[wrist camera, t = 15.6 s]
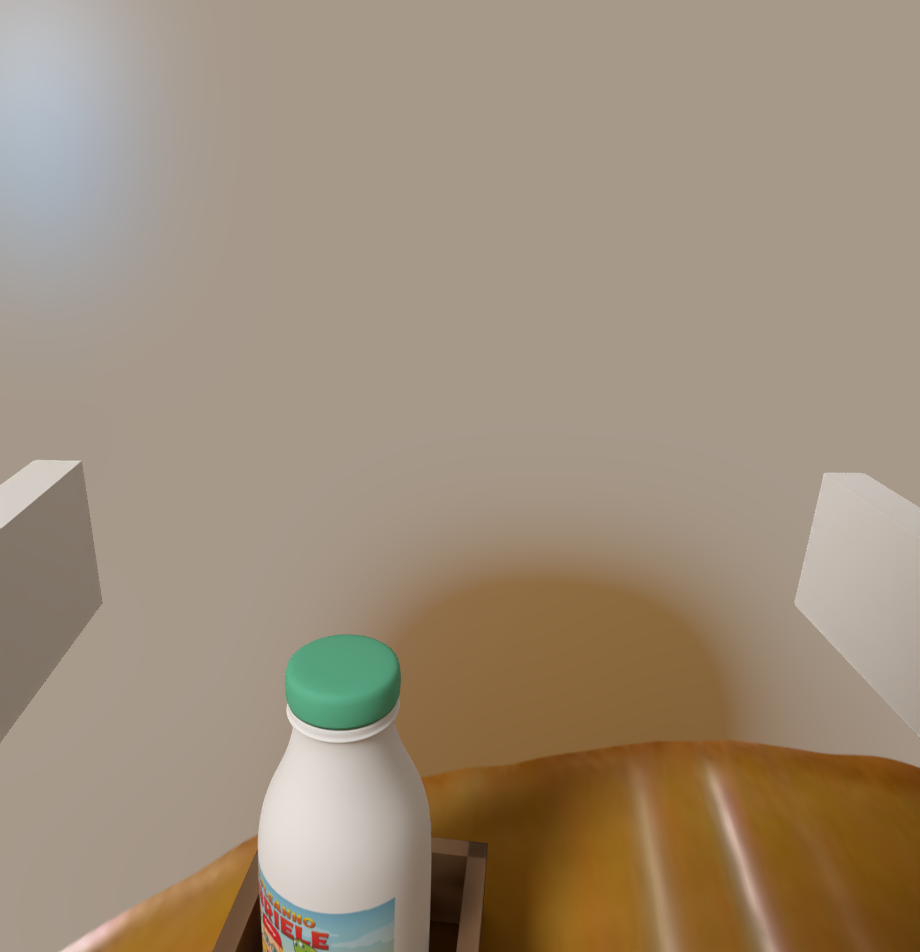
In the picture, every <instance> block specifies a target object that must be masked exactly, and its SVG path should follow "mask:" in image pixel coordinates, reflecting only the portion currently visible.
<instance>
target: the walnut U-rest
mask: <svg viewBox="0 0 920 952" xmlns="http://www.w3.org/2000/svg"><path fill="white" fill-rule="evenodd" d="M487 847H488V844H487V843H479V842H470V841H462V840H454V839H445V838H437V837H431V897H430V921H436V922H444V923H452V924H459V933H458V941H457V950H456V952H479V950H480V938H481V927H482V915H483V902H484V889H485V875H486V861H487ZM213 952H263V944H262V930H261V913H260V896H259V878H258V849H257V852H256V854H255V856H254V858H253V861H252V863H251V865H250V868H249V870H248V872H247V874H246V877H245V879H244V881H243V883H242V886H241V888H240V890H239V893H238V895H237V897H236V899H235V902H234V904H233V906H232V908H231V911H230V913H229V915H228V917H227V920H226V922H225V924H224V927H223V929H222V931H221V933H220V936H219V938H218V940H217V942H216V945H215V947H214V949H213Z"/></svg>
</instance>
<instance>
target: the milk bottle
mask: <svg viewBox="0 0 920 952" xmlns="http://www.w3.org/2000/svg"><path fill="white" fill-rule="evenodd" d="M400 684H401V674H400V665H399V662H398V658H397V656H396V654H395V653H394V651H393V650H392V649H391V648H390V647H388V646H387V645H385V644H384V643H382V642H380V641H378V640H375V639H373V638H370V637H366V636H360V635H334V636H329V637H324V638H321V639H318V640H315V641H313V642H311V643H309V644H307V645H305V646H303V647H302V648H300V649H299V650H298V651H297V652H296V653H295V654H294V655H293V656H292V657H291V659H290V660H289V662H288V665H287V669H286V674H285V690H286V699H287V703H288V704H287V716H288V719H289V721H290V723H291V724H292V726H293V731H292V735H291V738H290V741H289V744H288V747H287V750H286V752H285V755H284V756H283V759H282V760H281V762H280V764H279V766H278V768H277V770H276V772H275V774H274V776H273V778H272V780H271V782H270V785H269V788H268V790H267V793H266V796H265V799H264V802H263V807H262V811H261V816H260V823H259V833H258V878H259V896H260V913H261V930H262V944H263V952H429V928H430V897H431V821H430V813H429V806H428V801H427V797H426V793H425V789H424V786H423V783H422V781H421V778H420V775H419V773H418V771H417V769H416V767H415V765H414V764H413V762H412V760H411V758H410V756H409V755H408V753H407V751H406V750H405V748H404V746H403V744H402V742H401V740H400V737H399V734H398V731H397V728H396V725H395V721H394V720H395V718H396V716H397V714H398V712H399V709H400V698H399V694H400Z"/></svg>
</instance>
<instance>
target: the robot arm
mask: <svg viewBox="0 0 920 952" xmlns="http://www.w3.org/2000/svg"><path fill="white" fill-rule="evenodd" d="M101 604H102V597H101V590H100V583H99V576H98V569H97V563H96V555H95V548H94V542H93V535H92V528H91V522H90V514H89V508H88V500H87V494H86V486H85V480H84V473H83V466H82V461H64V460H34V461H33V462H31V463H30V464H29V465H27V466H26V467H25V468H23V469H22V470H21V471H19V472H18V473H16V474H15V475H14V476H12V477H11V478H10V479H8V480H7V481H5V482H4V483H3V484H1V485H0V742H1V741H2V739H3V738H4V737H5V735H6V734H7V733H8V731H9V730H10V729H11V727H12V726H13V724H14V723H15V722H16V720H17V719H18V718H19V716H20V715H21V714H22V712H23V711H24V710H25V708H26V707H27V705H28V704H29V703H30V701H31V700H32V699H33V697H34V696H35V694H36V693H37V692H38V690H39V689H40V688H41V686H42V685H43V684H44V682H45V681H46V679H47V678H48V677H49V675H50V674H51V673H52V671H53V670H54V668H55V667H56V666H57V664H58V663H59V662H60V660H61V659H62V657H63V656H64V655H65V653H66V652H67V651H68V649H69V648H70V646H71V645H72V644H73V643H74V641H75V640H76V638H77V637H78V636H79V634H80V633H81V632H82V630H83V629H84V627H85V626H86V625H87V623H88V622H89V621H90V619H91V618H92V616H93V615H94V613H95V612H96V611H97V610H98V608H99V607H100V606H101ZM794 604H795V606H796V607H797V608H798V609H799V610H800V611H801V612H802V613H803V614H804V615H805V616H806V617H807V618H808V619H809V620H810V622H811V623H812V624H813V625H814V626H815V627H816V628H817V629H818V630H819V631H820V632H821V633H822V634H823V635H824V636H825V638H826V639H827V640H828V641H829V642H830V643H831V644H832V645H833V646H834V647H835V648H836V649H837V650H838V651H839V652H840V654H841V655H842V656H843V657H844V658H845V659H846V660H847V661H848V662H849V663H850V664H851V665H852V666H853V667H854V668H855V669H856V671H857V672H858V673H859V674H860V675H861V676H862V677H863V678H864V679H865V680H866V681H867V682H868V683H869V684H870V685H871V687H872V688H873V689H874V690H875V691H876V692H877V693H878V694H879V695H880V696H881V697H882V698H883V699H884V700H885V702H886V703H887V704H888V705H889V706H890V707H891V708H892V709H893V710H894V711H895V712H896V713H897V714H898V715H899V716H900V718H901V719H902V720H903V721H904V722H905V723H906V724H907V725H908V726H909V727H910V728H911V729H912V730H913V731H914V732H915V734H916V735H918V737H919V738H920V508H919V507H918V506H916V505H915V504H913V503H911V502H910V501H908V500H906V499H905V498H903V497H902V496H900V495H898V494H897V493H895V492H894V491H892V490H890V489H889V488H887V487H885V486H884V485H882V484H881V483H879V482H877V481H876V480H874V479H872V478H871V477H869V476H868V475H866V474H864V473H824V476H823V480H822V484H821V489H820V493H819V498H818V502H817V507H816V511H815V515H814V519H813V524H812V528H811V532H810V537H809V542H808V546H807V550H806V554H805V559H804V563H803V567H802V572H801V576H800V581H799V585H798V589H797V594H796V598H795V603H794Z"/></svg>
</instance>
